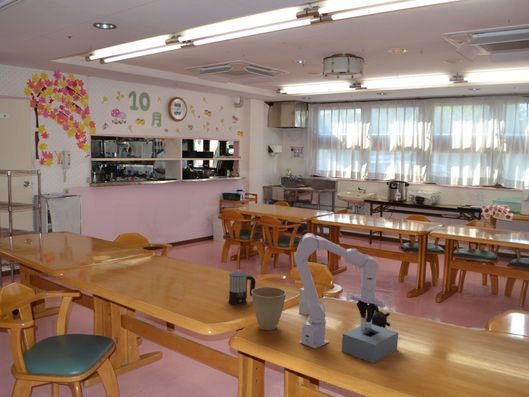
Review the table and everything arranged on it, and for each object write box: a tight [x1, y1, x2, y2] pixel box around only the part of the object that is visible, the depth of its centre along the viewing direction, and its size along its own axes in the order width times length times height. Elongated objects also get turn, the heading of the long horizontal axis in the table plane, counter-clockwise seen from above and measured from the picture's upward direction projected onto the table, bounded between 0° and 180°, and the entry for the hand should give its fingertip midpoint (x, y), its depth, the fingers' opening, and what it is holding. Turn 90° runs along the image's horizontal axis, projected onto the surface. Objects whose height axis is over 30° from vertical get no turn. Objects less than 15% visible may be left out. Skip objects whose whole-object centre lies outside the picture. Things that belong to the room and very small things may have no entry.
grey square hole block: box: [341, 324, 399, 364], centre depth 181 cm, size 18×14×7 cm
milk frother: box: [228, 271, 256, 306], centre depth 237 cm, size 14×16×15 cm
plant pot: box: [251, 286, 287, 331], centre depth 200 cm, size 15×15×16 cm
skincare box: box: [298, 287, 310, 316], centre depth 221 cm, size 6×4×12 cm
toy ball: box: [372, 306, 391, 328], centre depth 204 cm, size 10×10×11 cm
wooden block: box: [360, 314, 372, 331], centre depth 184 cm, size 5×2×5 cm, turn 137°
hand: (366, 320), depth 184 cm, fingers closed on wooden block, 2 cm apart
